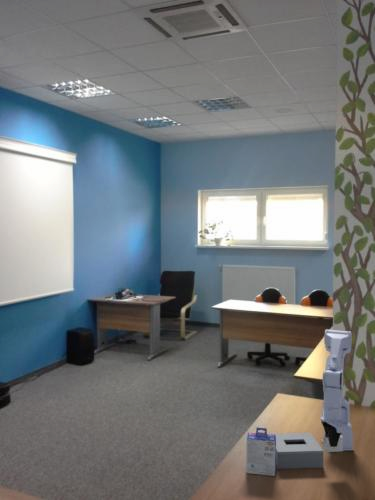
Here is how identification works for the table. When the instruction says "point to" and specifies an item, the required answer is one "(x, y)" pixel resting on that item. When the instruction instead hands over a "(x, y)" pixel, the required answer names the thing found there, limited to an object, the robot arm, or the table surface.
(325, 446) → the block
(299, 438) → the ballot box
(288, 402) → the table surface
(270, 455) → the ink cartridge box
